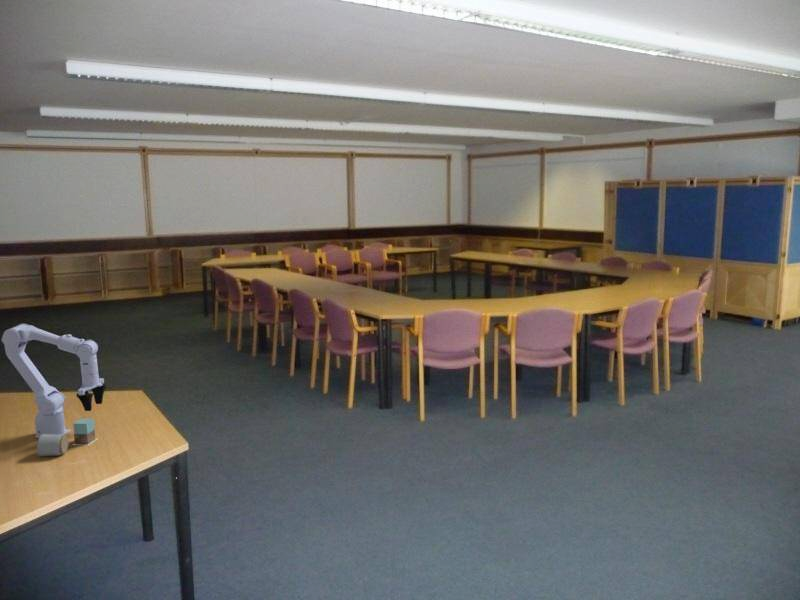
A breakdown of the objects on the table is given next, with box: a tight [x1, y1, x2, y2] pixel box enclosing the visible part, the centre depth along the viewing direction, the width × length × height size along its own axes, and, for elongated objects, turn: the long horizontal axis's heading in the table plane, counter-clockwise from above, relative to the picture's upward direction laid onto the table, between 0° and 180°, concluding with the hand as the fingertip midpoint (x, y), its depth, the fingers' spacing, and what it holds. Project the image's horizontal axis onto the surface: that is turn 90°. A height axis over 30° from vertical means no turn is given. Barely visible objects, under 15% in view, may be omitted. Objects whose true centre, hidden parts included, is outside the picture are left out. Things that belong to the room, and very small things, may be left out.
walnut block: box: [73, 429, 96, 444], centre depth 235 cm, size 5×5×4 cm
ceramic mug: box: [36, 434, 69, 457], centre depth 226 cm, size 11×8×8 cm
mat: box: [71, 437, 99, 446], centre depth 235 cm, size 10×9×1 cm
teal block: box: [72, 418, 96, 435], centre depth 234 cm, size 5×5×4 cm
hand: (93, 407), depth 242 cm, fingers open, 7 cm apart
